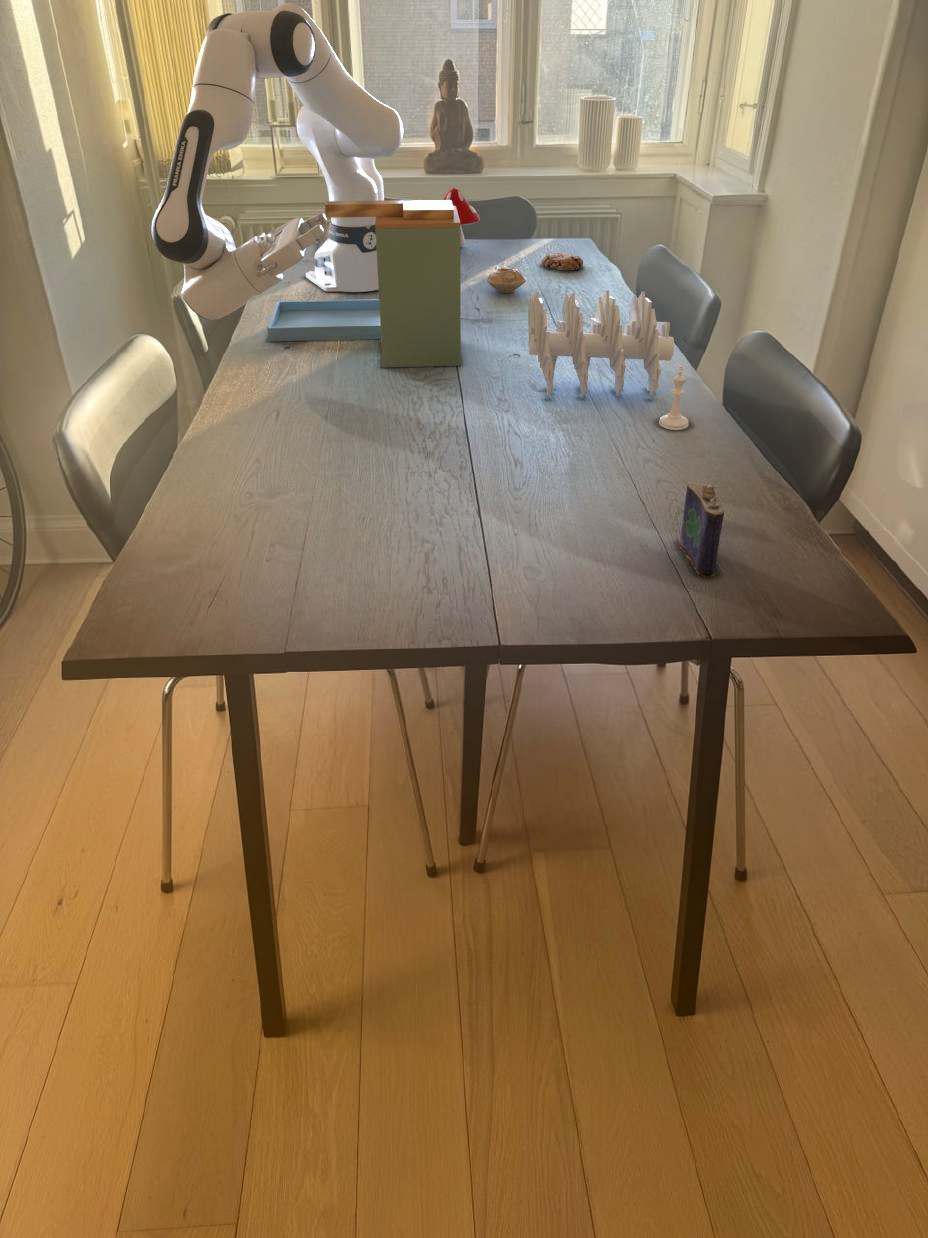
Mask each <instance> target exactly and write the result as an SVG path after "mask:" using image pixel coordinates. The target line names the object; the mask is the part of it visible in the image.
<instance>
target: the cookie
mask: <svg viewBox="0 0 928 1238" xmlns="http://www.w3.org/2000/svg"><path fill="white" fill-rule="evenodd" d="M540 264H541V266H542V267H545V268H548V269H553V268H554V269H555V268H556V270H559V271H565V270H571V271H572V270H574V271H575V270H579V269H582V268H583V266H584V260H583V258H581V257H580V255H579V256H578V255H572V254H569V253H567V252H566V253H565V252H553V253H550V254H547V255H545V256H544V257H543V258H542V260H541V263H540Z"/></svg>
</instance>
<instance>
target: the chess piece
mask: <svg viewBox="0 0 928 1238" xmlns="http://www.w3.org/2000/svg"><path fill="white" fill-rule="evenodd" d="M683 370H684V366H683V365H679V369H678V374H677V375H675V376H673V379H672V380H673V383H674V384H673V385H674V388H673V389H671V392H670V393H671V394H672V395H673V401H672V404H671V407H670V411H669V412H668V413H667V414H665V415H662V416H660V418H659V421H658V425H659V427H661V428H664V429H665V430H672V431H679V430H680V431H682V430H685V429H687V428H688V427H689V423H690V422H689V419H688V418H687V417H686V416H683V414H681V396H683V395H685V390H684V389H683V387H684V384H685V383H686V380H687V378H686V377H685V376H684V375H683V372H684V371H683Z"/></svg>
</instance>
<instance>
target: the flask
mask: <svg viewBox="0 0 928 1238" xmlns="http://www.w3.org/2000/svg"><path fill="white" fill-rule="evenodd" d="M715 488H716V489H717V488H719V484H716V483H713V484H712V483H708V484H705V483H701V482H698V481H693V482H689V483H687V484H686V491H685V498H684V504H683V505H684V507H683V508H684V509H683V512H682V513H683V514H682V520H681V526H680V532H679V539H678V547H679V549H680V550H682V551H683V552H684V555H685V558H686V559H687V560H688V561H691V563H690V564H691V565H692V566H693V569H694V570H695V572H696V574H697V575H699V576H701V577H703V578H709V577H713V576H715V574H716V569H717V560H718V554H719V553H718V552H719V546H720V539H721V533H722V530H723V529H722V528H723V521H724V517H725V510H724V508H723V505H722V502H721V500H720V499H719V498H718V495H717V493H716V492H715Z"/></svg>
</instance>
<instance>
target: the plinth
mask: <svg viewBox="0 0 928 1238" xmlns="http://www.w3.org/2000/svg"><path fill="white" fill-rule="evenodd" d="M453 209H454V219H411V220H404V219H403V217H376V221H375V228H376V248H377V267H378V287H379V289H378V299H379V306H380V326H381V339H380V345H381V363H382V364H381V365H382V368H385V369H386V368H424V367H425V368H426V367H428V368H429V367H460V366H461V365H462V341H461V340H462V335H461V334H462V328H461V326H462V323H461V322H462V318H461V317H462V315H461V313H462V310H461V302H462V301H461V300H462V299H461V297H462V296H461V295H462V294H461V291H462V290H461V286H462V285H461V284H462V283H461V281H462V280H461V247H460V220H459V216H458V212H457V209H456V206H453Z"/></svg>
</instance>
